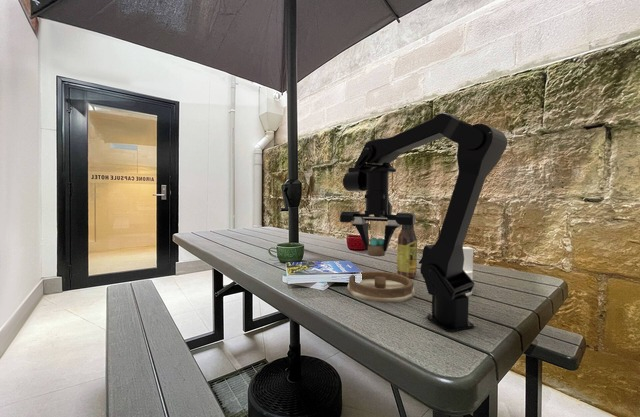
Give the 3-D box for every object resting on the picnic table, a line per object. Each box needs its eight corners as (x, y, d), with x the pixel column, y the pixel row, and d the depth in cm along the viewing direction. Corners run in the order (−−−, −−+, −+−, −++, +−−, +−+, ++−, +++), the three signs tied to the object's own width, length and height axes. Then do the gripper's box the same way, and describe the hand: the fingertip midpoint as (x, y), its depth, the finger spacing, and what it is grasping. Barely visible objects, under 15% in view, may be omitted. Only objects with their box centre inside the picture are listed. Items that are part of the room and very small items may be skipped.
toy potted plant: (388, 255, 70) (388, 239, 70) (372, 256, 68) (373, 239, 68) (379, 252, 74) (379, 236, 74) (364, 253, 72) (364, 237, 72)
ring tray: (429, 297, 70) (429, 284, 70) (366, 306, 64) (366, 291, 64) (389, 278, 87) (390, 267, 87) (337, 283, 81) (337, 272, 81)
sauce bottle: (412, 279, 86) (413, 216, 85) (393, 276, 90) (394, 216, 89) (419, 275, 91) (420, 216, 90) (401, 272, 95) (401, 215, 94)
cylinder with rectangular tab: (463, 285, 80) (464, 245, 80) (478, 296, 71) (479, 251, 71) (432, 284, 81) (433, 244, 81) (442, 295, 72) (443, 250, 72)
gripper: (418, 191, 74) (417, 248, 74) (353, 191, 82) (352, 243, 82) (413, 190, 64) (411, 256, 64) (339, 190, 72) (338, 249, 72)
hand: (376, 250), depth 71 cm, fingers closed on toy potted plant, 4 cm apart
